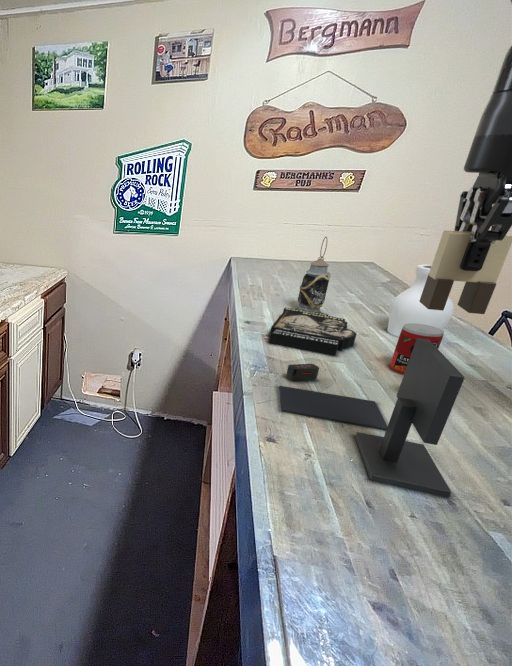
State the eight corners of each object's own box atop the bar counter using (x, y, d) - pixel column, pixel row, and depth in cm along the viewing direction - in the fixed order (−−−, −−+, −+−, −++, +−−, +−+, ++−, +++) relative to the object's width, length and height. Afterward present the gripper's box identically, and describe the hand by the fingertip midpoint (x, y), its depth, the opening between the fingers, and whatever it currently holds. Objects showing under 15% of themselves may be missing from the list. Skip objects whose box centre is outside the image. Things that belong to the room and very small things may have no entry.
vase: (374, 324, 143) (394, 260, 135) (428, 328, 140) (452, 263, 132) (394, 340, 131) (417, 271, 123) (453, 345, 127) (481, 274, 119)
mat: (374, 403, 97) (374, 401, 96) (387, 431, 87) (388, 428, 86) (279, 387, 103) (279, 385, 103) (281, 411, 93) (282, 409, 93)
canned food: (389, 372, 111) (403, 330, 106) (388, 361, 117) (402, 321, 112) (429, 380, 107) (446, 336, 102) (426, 369, 113) (442, 326, 108)
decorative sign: (264, 331, 128) (285, 307, 150) (262, 342, 129) (283, 316, 151) (352, 348, 117) (360, 318, 139) (349, 359, 118) (357, 328, 140)
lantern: (323, 315, 152) (343, 239, 142) (296, 313, 154) (314, 237, 145) (318, 308, 159) (337, 235, 149) (292, 306, 162) (309, 234, 152)
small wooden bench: (474, 306, 68) (502, 232, 63) (486, 314, 64) (518, 236, 60) (417, 301, 70) (441, 229, 66) (426, 309, 67) (452, 233, 62)
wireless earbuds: (320, 380, 107) (323, 368, 105) (291, 382, 106) (294, 369, 105) (307, 372, 111) (310, 360, 110) (279, 373, 110) (282, 361, 109)
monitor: (419, 447, 82) (461, 343, 74) (451, 502, 68) (505, 382, 60) (354, 434, 86) (386, 334, 78) (371, 484, 72) (412, 369, 64)
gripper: (589, 127, 51) (523, 281, 57) (526, 134, 62) (478, 261, 69) (501, 130, 54) (448, 276, 60) (457, 135, 65) (417, 257, 72)
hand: (464, 267), depth 65 cm, fingers closed on small wooden bench, 3 cm apart
